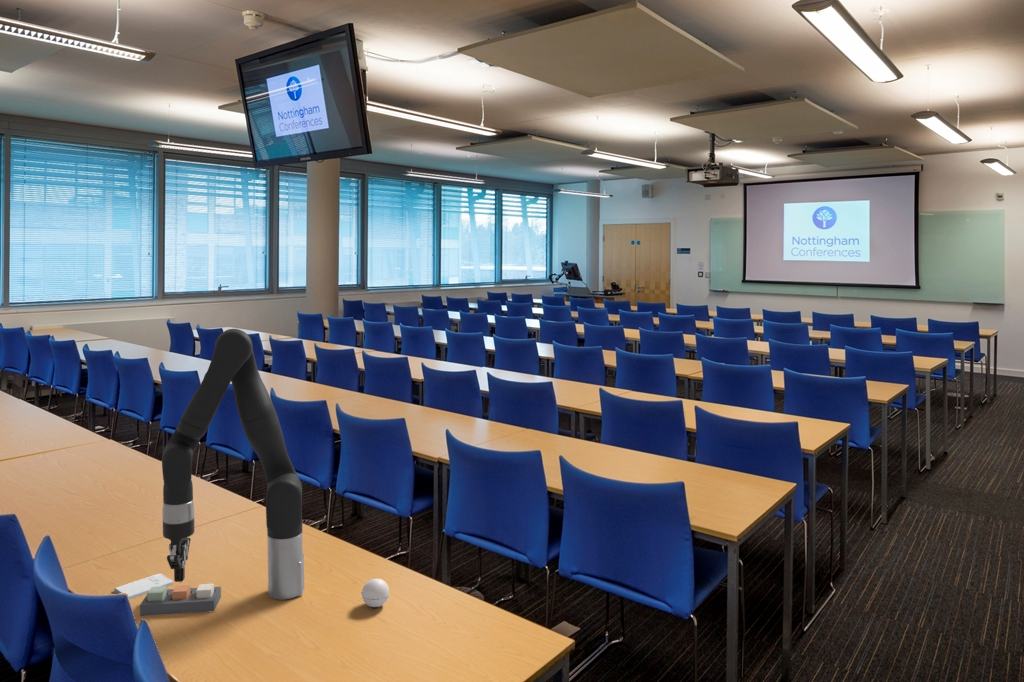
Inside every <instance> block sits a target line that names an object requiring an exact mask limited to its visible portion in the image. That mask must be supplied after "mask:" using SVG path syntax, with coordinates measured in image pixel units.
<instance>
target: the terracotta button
mask: <svg viewBox="0 0 1024 682" xmlns="http://www.w3.org/2000/svg"><path fill="white" fill-rule="evenodd" d="M190 588H191V584H181V585H180V584H179V585H175V587H174V588H173V589H174V590H173V591H172V600H180V599H188V598H189V596H190V595H191V591H190Z"/></svg>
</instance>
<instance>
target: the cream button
mask: <svg viewBox="0 0 1024 682" xmlns="http://www.w3.org/2000/svg"><path fill="white" fill-rule="evenodd" d="M214 587H215V583H199V585H198V586H197V587H196V588H197V590H196V598H212V597H213V595H214Z"/></svg>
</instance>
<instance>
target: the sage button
mask: <svg viewBox="0 0 1024 682" xmlns="http://www.w3.org/2000/svg"><path fill="white" fill-rule="evenodd" d="M166 590H167V587H166V586H161V587H151V589H150V590H149V592H148V593H147V594H146V596H147V598H148V601H163V600H164V599H165V597H166V596H167V591H166Z"/></svg>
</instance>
